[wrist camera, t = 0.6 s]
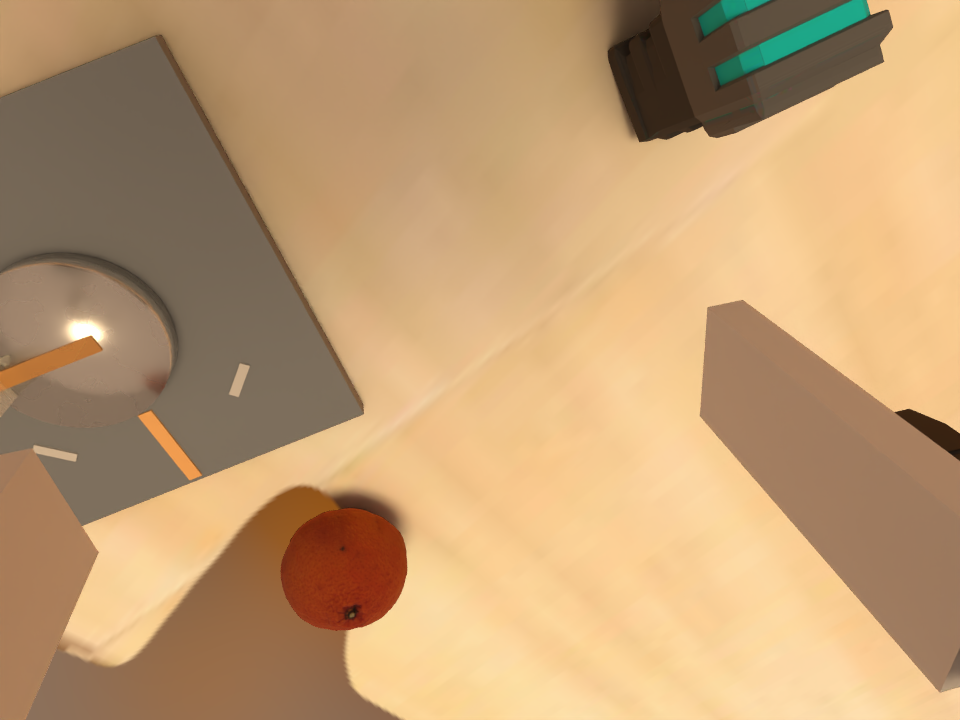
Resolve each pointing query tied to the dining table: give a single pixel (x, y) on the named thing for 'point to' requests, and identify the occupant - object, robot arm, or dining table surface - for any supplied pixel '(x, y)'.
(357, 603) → the fruit
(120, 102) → the panel
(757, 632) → the dining table surface
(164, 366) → the dial
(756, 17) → the gun
